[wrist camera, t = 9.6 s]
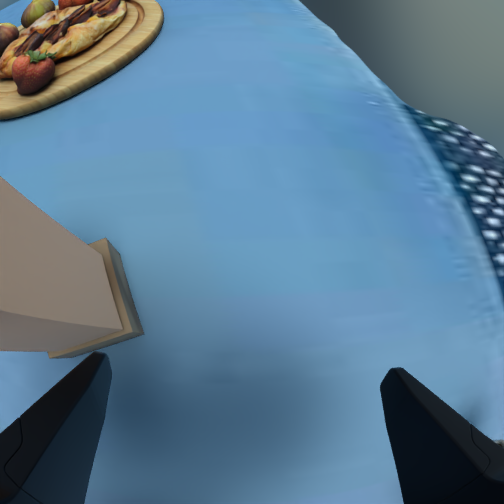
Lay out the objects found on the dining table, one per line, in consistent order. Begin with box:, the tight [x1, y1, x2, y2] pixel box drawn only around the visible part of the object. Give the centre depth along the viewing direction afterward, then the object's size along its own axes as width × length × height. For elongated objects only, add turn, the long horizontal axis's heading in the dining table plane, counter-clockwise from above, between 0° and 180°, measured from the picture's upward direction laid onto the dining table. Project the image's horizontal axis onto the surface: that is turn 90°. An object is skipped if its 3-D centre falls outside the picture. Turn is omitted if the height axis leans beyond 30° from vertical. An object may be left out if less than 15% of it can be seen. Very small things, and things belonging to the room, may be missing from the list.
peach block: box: [0, 176, 123, 352], centre depth 11 cm, size 5×5×12 cm
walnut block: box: [48, 238, 144, 359], centre depth 19 cm, size 6×6×4 cm
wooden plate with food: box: [0, 0, 164, 120], centre depth 26 cm, size 32×32×8 cm
